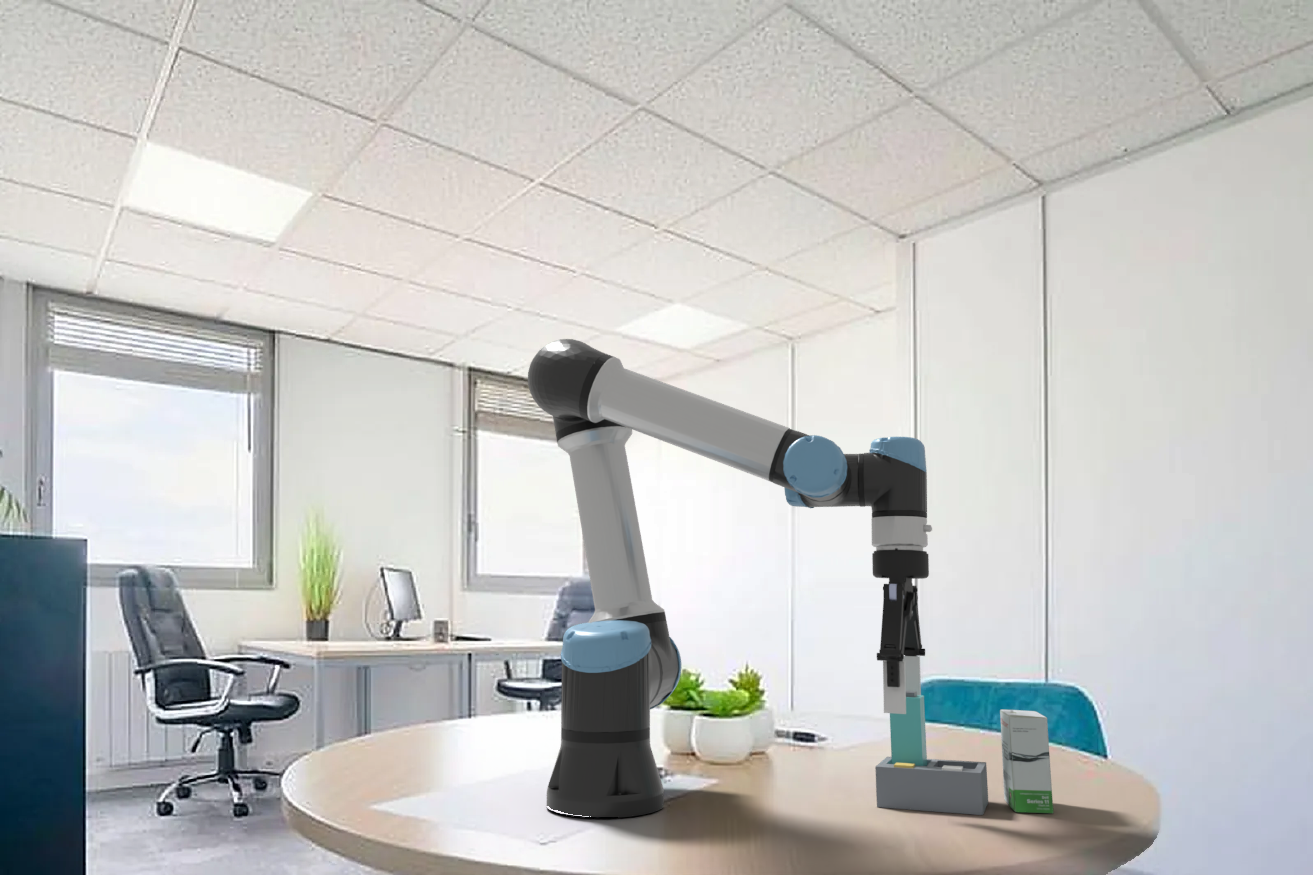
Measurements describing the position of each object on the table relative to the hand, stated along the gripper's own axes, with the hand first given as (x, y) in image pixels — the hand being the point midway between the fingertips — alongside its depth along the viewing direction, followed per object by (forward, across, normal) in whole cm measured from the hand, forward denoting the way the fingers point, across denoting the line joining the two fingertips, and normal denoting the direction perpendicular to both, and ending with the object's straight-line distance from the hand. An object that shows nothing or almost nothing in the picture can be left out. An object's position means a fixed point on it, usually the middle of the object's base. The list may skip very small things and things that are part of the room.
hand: (903, 708), depth 132 cm
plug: (+11, 0, -1) cm, 11 cm away
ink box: (+12, +2, -15) cm, 19 cm away
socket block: (+12, -1, -4) cm, 12 cm away
